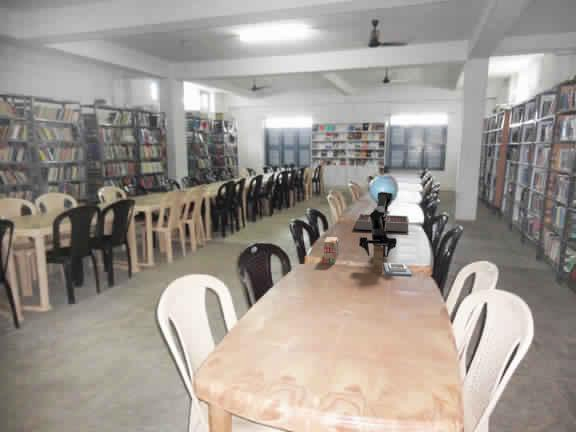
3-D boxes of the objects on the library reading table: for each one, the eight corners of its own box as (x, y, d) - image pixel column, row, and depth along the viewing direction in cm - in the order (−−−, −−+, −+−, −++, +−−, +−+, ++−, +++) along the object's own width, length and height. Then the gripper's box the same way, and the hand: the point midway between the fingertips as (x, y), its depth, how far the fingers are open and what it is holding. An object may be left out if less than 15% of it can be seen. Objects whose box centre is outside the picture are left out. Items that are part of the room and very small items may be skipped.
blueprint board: (383, 264, 213) (383, 259, 212) (406, 265, 211) (406, 260, 211) (386, 274, 195) (386, 270, 195) (411, 275, 194) (411, 271, 193)
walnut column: (372, 269, 204) (373, 245, 202) (381, 269, 204) (382, 245, 201) (373, 272, 200) (374, 247, 198) (382, 272, 199) (383, 247, 197)
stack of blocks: (328, 253, 236) (328, 233, 234) (338, 253, 235) (339, 233, 233) (323, 263, 216) (324, 241, 214) (335, 263, 214) (335, 242, 212)
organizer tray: (408, 233, 290) (409, 220, 288) (354, 231, 300) (354, 218, 298) (407, 225, 321) (408, 213, 319) (357, 223, 331) (358, 211, 329)
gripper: (360, 221, 204) (360, 247, 195) (397, 222, 201) (398, 248, 192) (359, 233, 213) (359, 258, 204) (394, 234, 210) (396, 260, 201)
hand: (378, 256), depth 200 cm, fingers open, 9 cm apart
